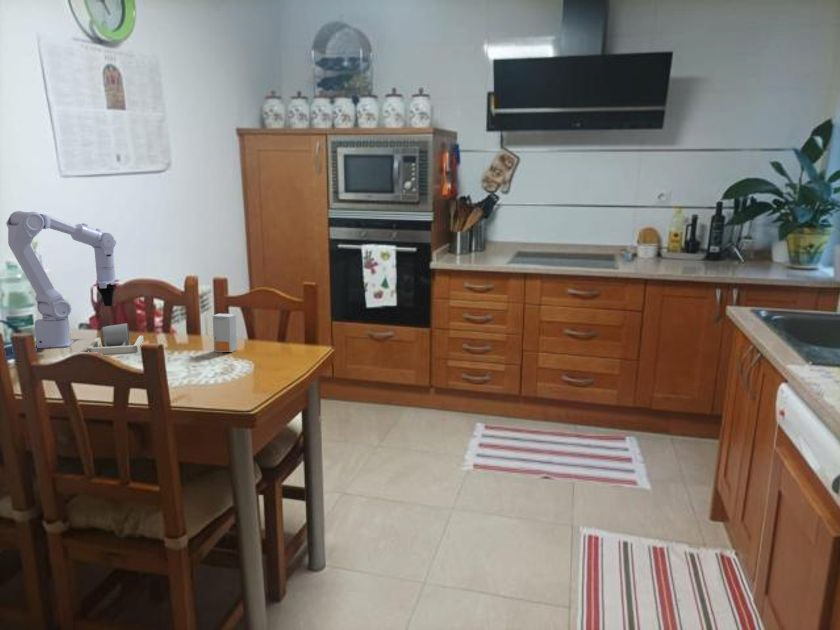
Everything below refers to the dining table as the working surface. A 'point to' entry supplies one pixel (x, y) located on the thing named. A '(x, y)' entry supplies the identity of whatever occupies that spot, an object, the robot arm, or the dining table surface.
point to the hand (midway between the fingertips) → (108, 305)
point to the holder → (115, 347)
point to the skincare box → (224, 332)
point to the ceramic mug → (115, 335)
